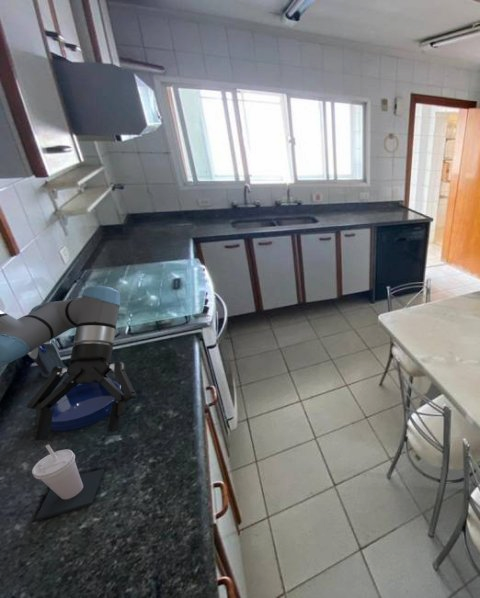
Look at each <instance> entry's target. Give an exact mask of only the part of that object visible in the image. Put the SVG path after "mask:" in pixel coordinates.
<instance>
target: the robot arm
mask: <svg viewBox="0 0 480 598" xmlns="http://www.w3.org/2000/svg"><path fill="white" fill-rule="evenodd" d="M120 307H121V292H120V291H119V290H117V289H115V288H113V287H110V286H104V285H90V286H87V287H86V288H84V289H83V291H82V294H81V297H77V298H72V299H65V300H58V301H55V300H54V301H47V302H44V303H41V304H37V305H35V306H34V307H32V308H31V310H30V311H29V312H28V314H26V315H23V316H21V317H18V318H16V317H14V316H12V315H10V314H8V313H6V312H5V311H3V310H1V309H0V367H2V366H6V365H8V364H10V363H12V362H14V361H17V360H19V359H20V358H21V359H22V358H23V357H25V356H27V355H28V353H29V352H31V351H32V350H34V349H36V348H37V347H39V346H41V345H42V344H44V343H46V342H48V341H50V340H52V339H53V338H54V339H55V338H57V337H59V336H60V335H62V334H64V333H66V332H68V331H69V330H72V329H75V332H74V333H75V334H74V338H73V344H74V345H73V346H72V349H71V353H70V364H69V366H67V368H61V367H53V369H52V371H51V374H50V377H49V378H46V380H45V381H44V383H42V386H41V387H40V388H39V389H38V391H36V393H35V394H34V396H32V398H31V399H30V401H29V402H28V403H27V405H26V408H27V409H33V410H36V414H35V419H34V426H37V429H36V433H35V438H34V441H37V442H38V441H47V440H49V436H50V432H51V429H50V427H51V422H52V417H53V412H54V410H52V409H50V408H51V407H52V406H53V405H55V404H56V403H57V402H58V401H59V400H60V399H61V398H62V397H63V396H64V395H66V394H67V393H68V392H69V391H70V390H71V389H72V388H73V387H75V386H77V385H78V384H87V383H97V382H99V383H101V384H102V385H103V386H104V388H105V389H106V390H107V391H108V392H109V393H110V394H111V395H112V396H113V397H114V398H115V399H116V400H117V402H113V403H112V408H111V414H109V415H110V416H109V422H108V429H107V432H118V431H119V428H120V421H121V417H122V416H124V415H125V413H126V406H127V402H128V401H130V400H132V399H135V398H136V397H137V394H136V393H137V392H136V391H135V389H134V387H133V385H132V383H131V381H130V378H129V376H128V374H127V372H126V363H124V362H121V361H115V362H114V363H111V360H112V357H113V351H114V348H113V345H114V344H115V337H116V331H117V330H116V329H117V323H118V318H119V312H120ZM111 370H112V372H114V374H115V377H116V379H117V381H118V384H120V386H121V389H122V392H123V393H122V392H121V391H120V390H119V389H118V388H117V386H116V385H115V384H114V383H113V382H112V381H113V380H112V379H111V378H110V377H109V376H108V375H107V374H109V373H110V371H111ZM67 375H69V376H67ZM65 376H67V377H66V378H65V379H64V380H63V378H64V377H65ZM62 380H63V381H62ZM61 382H62V383H61ZM60 383H61V384H60ZM59 384H60V385H59ZM58 385H59V386H58Z"/></svg>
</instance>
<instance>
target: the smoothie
mask: <svg viewBox="0 0 480 598" xmlns="http://www.w3.org/2000/svg"><path fill="white" fill-rule="evenodd" d="M45 448H46V450H47V451H48V453H49V454H47V455H45V456H44V457H43V458H41V459H40V460H39V461H38V462H36V464H35V465H33V467H32V469H31V473H32V476H33V478H35V479H36V480H40V481H41V482H42V483H43V484H45V485H46V486H47V487H48V488H49V490H50V489H52V490H53V491H54V492H55V493H56V494H57V495H58V496H59V497H61V498H62V499H70V498H72V497H74V496H76V495H77V494H78V493H79V492H80V491H81V490H82V489H83V484H82V481H81V478H80V475H81V474H80V472H79V469H78V466H77V463H76V460H75V459H76V454H75V453H74V452H73V451H72V450H71V449H61V450H56V451H54V450H53V448H52V447H51V446H50V444H46V445H45Z"/></svg>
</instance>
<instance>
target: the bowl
mask: <svg viewBox="0 0 480 598" xmlns="http://www.w3.org/2000/svg"><path fill="white" fill-rule="evenodd" d="M111 381H112V382H113V383H114V384H115V385H116V386H117V388H118V389H119V390H120V391H121V392H122V393H123V394H124V392H123V390H122V387H121V385H120V383H119V382H117V381H116V380H111ZM113 402H117V400H116V399H115V398H114V397H113V396H112V395H111V394H110V393H109V392H108V391H107V390H106V389H105V388H104V386H103V385H102V384H101V383H99V382H97V383H87V384H78V385H77V386H75V387H73V388H72V389H71V390H70V391H69V392H68V393H67V394H66V395H64V396H63V397H62V398H61V399H60V400H59V401H58V402H57V403H56V404H55V405H53V406H52V407H51V408H50V409H52V410H54V412H53V417H52V422H51V427H50V431H54V432H68V431H74V430H79V429H83V428H87V427H88V426H92V425H93V424H95V423H97V422H99V421H101V420H103V419H105V418H106V417H108V416H109V415H110V414H111V408H112V403H113Z"/></svg>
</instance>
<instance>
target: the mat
mask: <svg viewBox="0 0 480 598" xmlns="http://www.w3.org/2000/svg"><path fill="white" fill-rule="evenodd" d="M104 473H105V469H104V468H101V469H98V470H93V471H89V472H86V473H82V474H79V475H80V478H81V481H82V484H83V489H82V490H81V491H80V492H79V493H78V494H77V495H76V496H74V497H72V498H70V499H62V498H61V497H59V496H58V495H57V494H56V493H55V492H54V491H53V490H52V489H50V488H49V490H48V493H47V495H46V497H44V500H43V502H42V505H41V507H40V508H39V510H38V512H37V514H36V516H35V521H36V522H39V521H42V520H46V519H48V518H53V517H56V516H60V515H62V514H66V513H69V512H73V511H76V510H79V509H82V508H86V507H89V506H92V505H93V504H94V501H95V498H96V495H97V493H98V490H99V487H100V484H101V482H102V479H103V477H104Z"/></svg>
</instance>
